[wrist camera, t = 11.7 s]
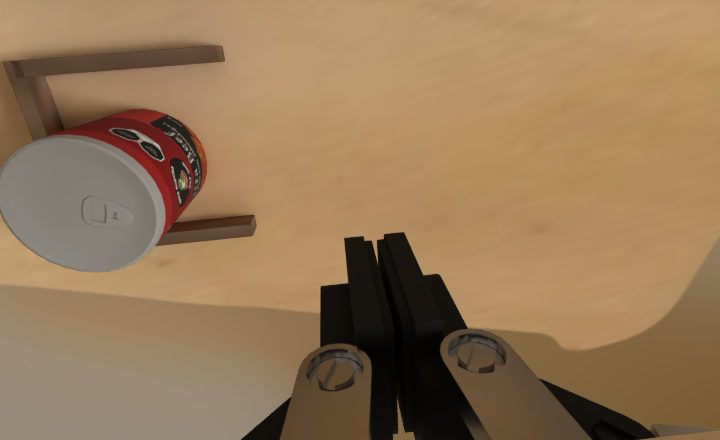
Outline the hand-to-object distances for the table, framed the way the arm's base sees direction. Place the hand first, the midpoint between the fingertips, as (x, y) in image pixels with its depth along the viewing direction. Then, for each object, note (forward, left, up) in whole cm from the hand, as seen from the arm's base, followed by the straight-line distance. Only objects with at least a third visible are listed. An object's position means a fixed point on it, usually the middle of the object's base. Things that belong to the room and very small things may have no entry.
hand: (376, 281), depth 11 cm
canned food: (+1, -14, -22) cm, 26 cm away
